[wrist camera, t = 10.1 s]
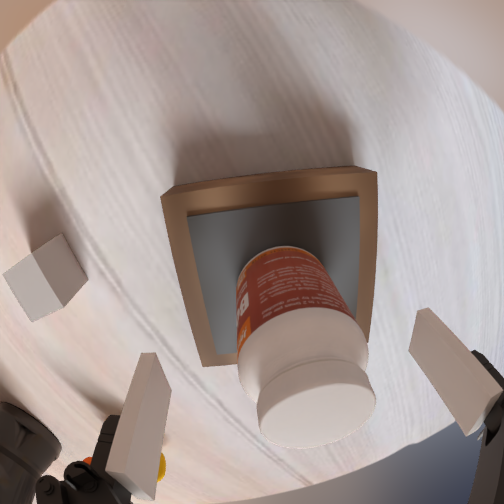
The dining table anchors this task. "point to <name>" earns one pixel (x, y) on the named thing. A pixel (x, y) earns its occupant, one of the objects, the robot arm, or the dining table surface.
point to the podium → (269, 241)
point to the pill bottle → (300, 351)
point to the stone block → (46, 278)
